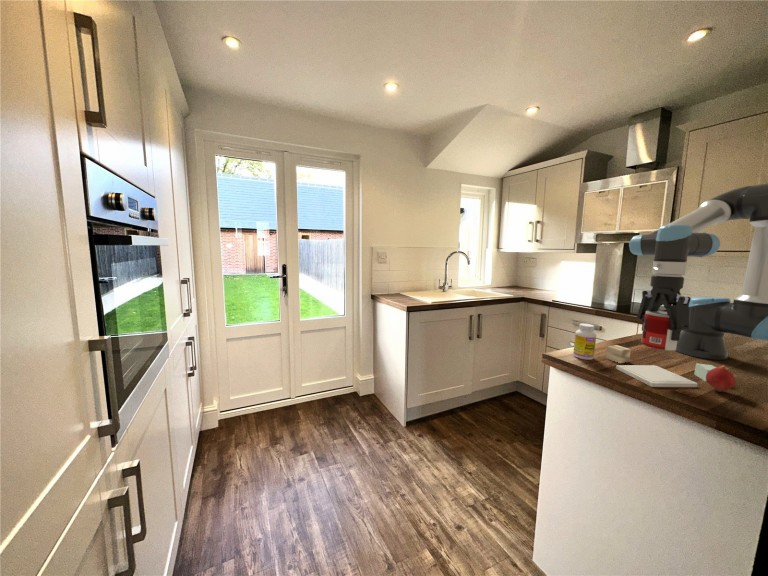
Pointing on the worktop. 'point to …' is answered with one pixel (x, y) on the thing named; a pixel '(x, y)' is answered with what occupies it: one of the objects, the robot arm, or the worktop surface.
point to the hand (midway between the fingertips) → (657, 345)
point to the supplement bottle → (585, 342)
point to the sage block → (703, 370)
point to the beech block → (618, 354)
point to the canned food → (655, 329)
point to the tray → (655, 376)
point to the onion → (720, 379)
